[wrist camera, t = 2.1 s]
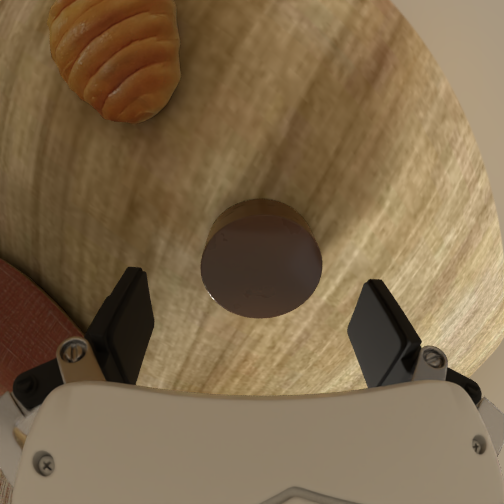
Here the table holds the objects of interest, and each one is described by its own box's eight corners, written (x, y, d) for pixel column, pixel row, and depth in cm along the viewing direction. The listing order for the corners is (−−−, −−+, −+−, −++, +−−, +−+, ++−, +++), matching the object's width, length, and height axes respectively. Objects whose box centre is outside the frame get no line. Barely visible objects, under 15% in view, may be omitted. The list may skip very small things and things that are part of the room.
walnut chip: (207, 195, 14) (200, 210, 12) (321, 203, 14) (334, 220, 12) (207, 289, 17) (201, 315, 14) (302, 294, 17) (309, 320, 15)
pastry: (220, 84, 11) (209, 72, 8) (109, 148, 12) (69, 163, 9) (154, -35, 7) (130, -64, 4) (59, 31, 8) (19, 23, 5)
